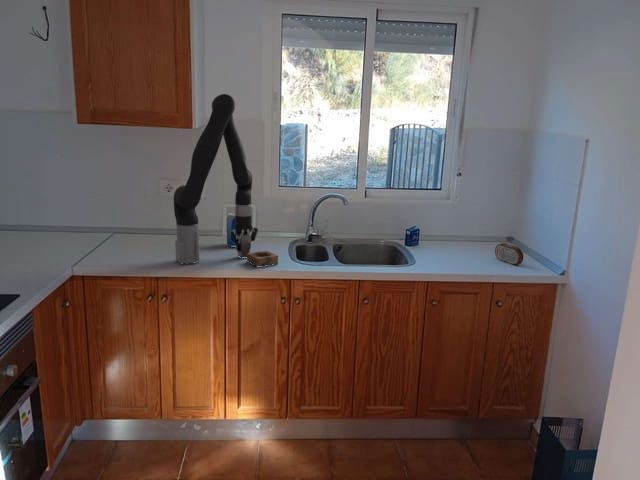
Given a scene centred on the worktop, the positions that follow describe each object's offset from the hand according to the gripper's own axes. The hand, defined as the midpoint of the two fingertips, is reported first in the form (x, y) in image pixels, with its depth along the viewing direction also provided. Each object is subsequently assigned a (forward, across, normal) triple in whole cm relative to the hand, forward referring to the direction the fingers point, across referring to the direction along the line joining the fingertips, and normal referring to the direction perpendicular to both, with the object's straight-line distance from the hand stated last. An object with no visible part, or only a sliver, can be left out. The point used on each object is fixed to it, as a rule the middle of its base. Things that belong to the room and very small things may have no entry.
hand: (243, 250), depth 245 cm
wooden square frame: (+3, +3, -12) cm, 13 cm away
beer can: (+4, +6, +20) cm, 21 cm away
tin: (+4, +103, -67) cm, 123 cm away
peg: (+3, 0, 0) cm, 3 cm away
